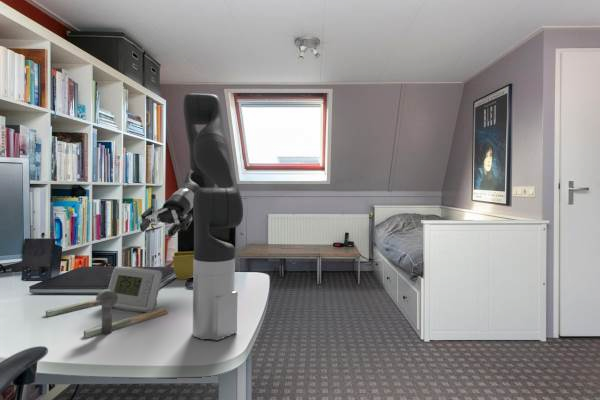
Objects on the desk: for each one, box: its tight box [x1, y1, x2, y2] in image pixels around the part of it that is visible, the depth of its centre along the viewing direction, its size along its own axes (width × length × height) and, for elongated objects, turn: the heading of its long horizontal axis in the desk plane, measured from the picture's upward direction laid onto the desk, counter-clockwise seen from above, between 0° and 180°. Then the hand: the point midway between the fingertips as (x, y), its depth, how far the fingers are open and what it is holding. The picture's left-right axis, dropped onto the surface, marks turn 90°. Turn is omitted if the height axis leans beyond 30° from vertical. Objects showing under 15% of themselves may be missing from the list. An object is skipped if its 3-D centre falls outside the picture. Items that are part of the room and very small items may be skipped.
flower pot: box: [172, 251, 194, 281], centre depth 133 cm, size 9×9×9 cm
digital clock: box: [107, 265, 163, 313], centre depth 100 cm, size 16×9×11 cm, turn 60°
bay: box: [45, 288, 169, 339], centre depth 93 cm, size 24×20×10 cm
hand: (155, 231), depth 106 cm, fingers open, 8 cm apart
